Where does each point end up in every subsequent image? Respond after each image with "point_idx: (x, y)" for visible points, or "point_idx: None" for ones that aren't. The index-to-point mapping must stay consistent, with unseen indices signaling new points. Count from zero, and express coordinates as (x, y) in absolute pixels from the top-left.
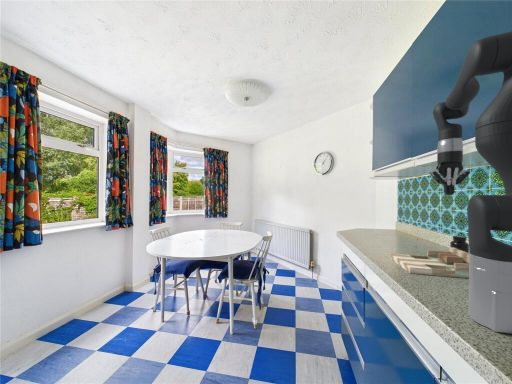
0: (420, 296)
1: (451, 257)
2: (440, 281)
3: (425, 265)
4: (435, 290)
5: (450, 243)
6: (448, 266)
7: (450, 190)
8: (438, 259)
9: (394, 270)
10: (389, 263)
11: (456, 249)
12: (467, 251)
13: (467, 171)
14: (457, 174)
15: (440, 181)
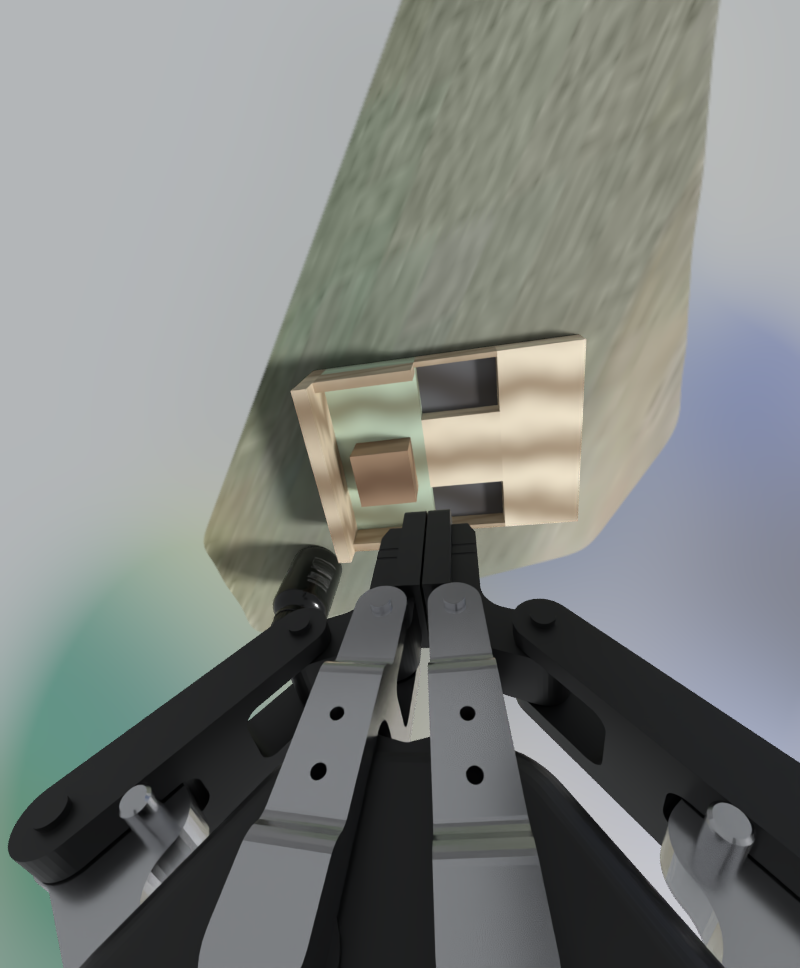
0: (683, 6)
1: (391, 451)
2: (495, 276)
3: (502, 394)
4: (571, 138)
5: (328, 613)
6: (413, 415)
7: (430, 538)
8: (417, 486)
9: (631, 349)
10: (609, 441)
11: (340, 535)
12: (289, 574)
13: (47, 847)
14: (289, 750)
15: (598, 631)
